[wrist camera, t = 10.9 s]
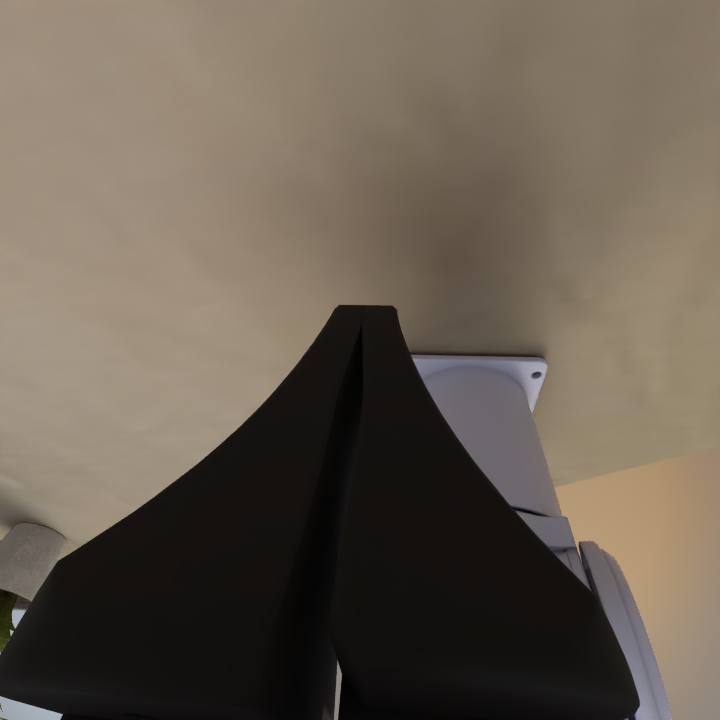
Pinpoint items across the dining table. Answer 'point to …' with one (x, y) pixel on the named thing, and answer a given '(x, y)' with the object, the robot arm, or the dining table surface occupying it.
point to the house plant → (24, 569)
